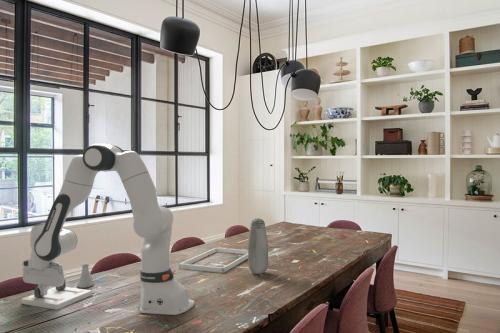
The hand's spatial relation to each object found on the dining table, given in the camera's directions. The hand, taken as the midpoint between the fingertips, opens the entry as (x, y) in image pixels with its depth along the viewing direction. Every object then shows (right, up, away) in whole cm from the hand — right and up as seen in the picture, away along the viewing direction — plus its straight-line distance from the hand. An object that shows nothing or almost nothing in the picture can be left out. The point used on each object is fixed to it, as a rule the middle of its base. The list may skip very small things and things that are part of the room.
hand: (44, 294), depth 158 cm
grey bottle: (+90, -2, +36) cm, 97 cm away
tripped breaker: (-2, -1, +1) cm, 3 cm away
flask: (+8, -3, +22) cm, 23 cm away
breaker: (+2, -1, +10) cm, 10 cm away
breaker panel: (+4, -3, +4) cm, 6 cm away
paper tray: (+67, -2, +63) cm, 92 cm away
